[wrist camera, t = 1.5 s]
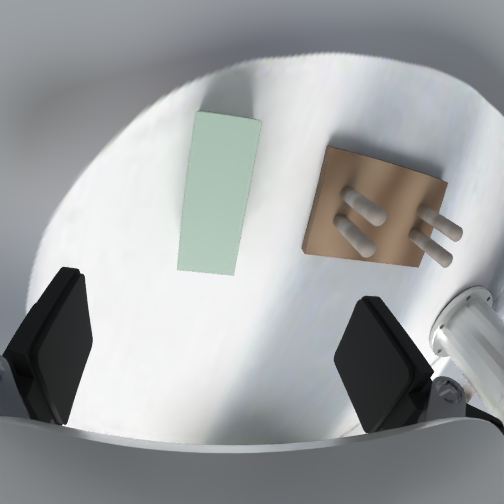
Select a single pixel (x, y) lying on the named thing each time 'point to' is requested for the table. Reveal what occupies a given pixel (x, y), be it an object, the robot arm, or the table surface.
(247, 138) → the mint green rectangular block
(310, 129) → the table surface
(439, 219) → the peg stand
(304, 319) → the table surface
